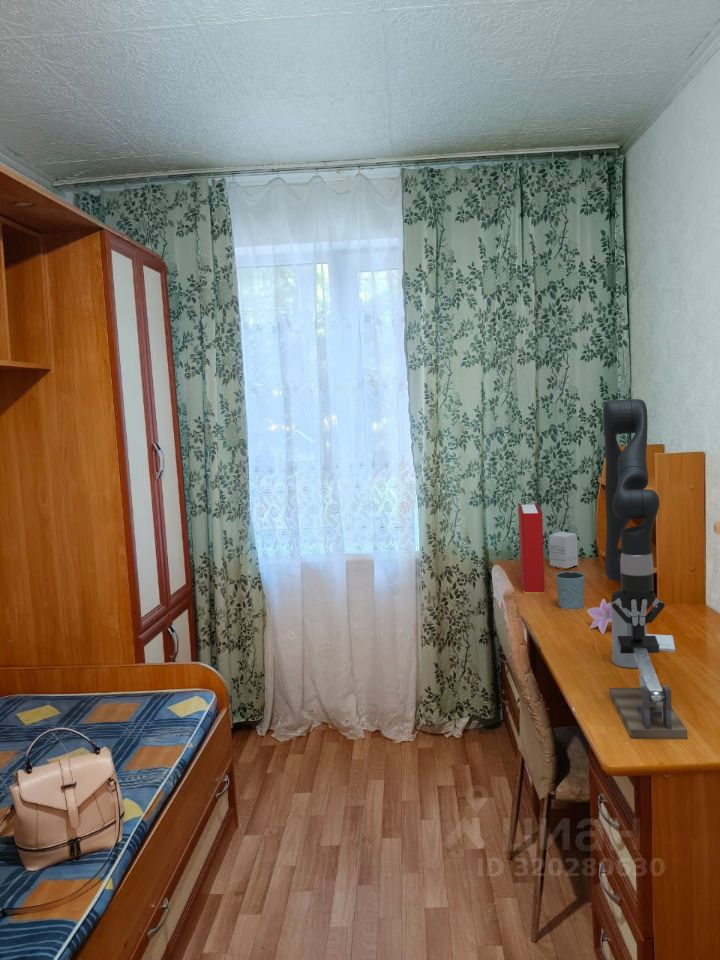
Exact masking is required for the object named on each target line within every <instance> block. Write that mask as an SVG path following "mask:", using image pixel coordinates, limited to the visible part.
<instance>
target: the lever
mask: <svg viewBox="0 0 720 960" xmlns="http://www.w3.org/2000/svg"><path fill="white" fill-rule="evenodd" d="M617 645H618V648H619V651H620V653H633V654H634V657H635V660H636V663H637V666H638V671H639V674H640V675H639V678H638V679H639V680H638V683H639V685H640V688H642V685H646V686H647V687H648V689H649V690H650V702H664V701H665V696H664V692H663V687H662V686H661V684H660V681H659V679H658V675H657V673H656V670H655V667H654V664H653V663H652V659H651V657H650V654H659V653H660V651H659V644H658V642H657V639H656V637H655V636H644V638H642V640H635V639H634V638H633V636H617Z"/></svg>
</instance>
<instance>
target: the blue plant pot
mask: <svg viewBox="0 0 720 960" xmlns="http://www.w3.org/2000/svg"><path fill="white" fill-rule="evenodd" d="M585 575H586V574H585V573H583V572H580V571H574V570H573V571H572V570H571V571H569V570H565V571H560V572H557V573H556V574H555V581H556V586H557V588H556V589H557V591H556V592H557V600H558V601H557V604H558V607H559V606H560V607H562V608H566V609H579V610H581V609H580V608H582V607H583V608H584V592H585V589H584V588H585V577H586V576H585ZM583 608H582V609H583Z"/></svg>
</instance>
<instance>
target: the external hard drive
mask: <svg viewBox="0 0 720 960" xmlns="http://www.w3.org/2000/svg"><path fill="white" fill-rule="evenodd" d="M646 636H655V637H656V639H657V642H658V644H659V652H663V651H669V652H668V653H676V647H675V646H676V645H675V640H674V636H673V635H672V634H671V635H669V634H653V633H651V634H650V633H646Z"/></svg>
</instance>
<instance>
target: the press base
mask: <svg viewBox="0 0 720 960" xmlns="http://www.w3.org/2000/svg"><path fill="white" fill-rule="evenodd" d="M662 691H663V692H664V696H665V701H664V702H650V690H649V689H648V687H647V686H646V685H642V688H641V687H609V697H610V699H611V700H612V703H613V705H614V706H615V708H616V710H617V713H618V714H619V717H620V718H621V720H622V723H623V724H624V727H625V728H626V731H627V732H629V733H628V734H630V735H629V736H631V737H630V738H631V739H665V740H666V739H671V740H672V739H675V740H676V739H683V740H684V739H685V740H686V739H688V729H687V728H686V726H685V725H684V723H683V721H682V720H681V719H680V717H679V716H678V714H677V713H676V711H675V709H673V707H672V690H671V688H670V687H669V686H668V685H667V684H665V685H664V684H663V685H662Z"/></svg>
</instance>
